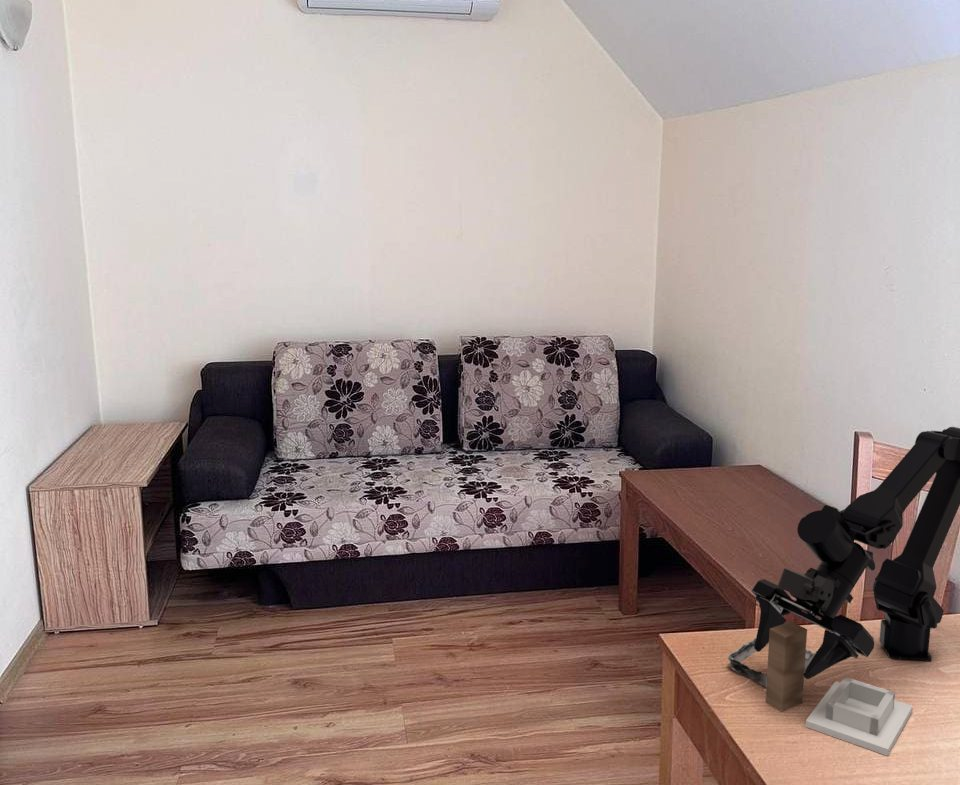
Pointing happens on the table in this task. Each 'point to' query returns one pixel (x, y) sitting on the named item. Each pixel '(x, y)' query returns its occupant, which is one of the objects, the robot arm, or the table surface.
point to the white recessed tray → (860, 715)
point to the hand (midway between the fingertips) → (780, 663)
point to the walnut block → (786, 665)
